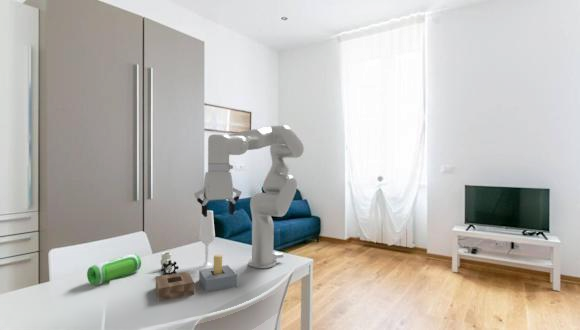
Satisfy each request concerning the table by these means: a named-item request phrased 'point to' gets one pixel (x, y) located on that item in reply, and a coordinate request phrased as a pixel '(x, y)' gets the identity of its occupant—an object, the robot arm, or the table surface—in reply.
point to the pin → (217, 264)
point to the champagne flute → (207, 233)
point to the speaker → (113, 269)
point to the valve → (167, 264)
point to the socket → (217, 278)
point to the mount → (174, 285)
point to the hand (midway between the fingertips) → (218, 215)
